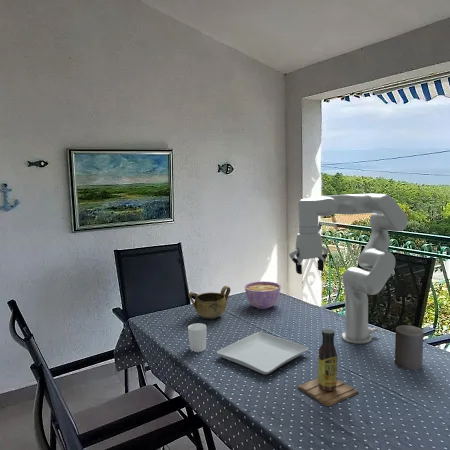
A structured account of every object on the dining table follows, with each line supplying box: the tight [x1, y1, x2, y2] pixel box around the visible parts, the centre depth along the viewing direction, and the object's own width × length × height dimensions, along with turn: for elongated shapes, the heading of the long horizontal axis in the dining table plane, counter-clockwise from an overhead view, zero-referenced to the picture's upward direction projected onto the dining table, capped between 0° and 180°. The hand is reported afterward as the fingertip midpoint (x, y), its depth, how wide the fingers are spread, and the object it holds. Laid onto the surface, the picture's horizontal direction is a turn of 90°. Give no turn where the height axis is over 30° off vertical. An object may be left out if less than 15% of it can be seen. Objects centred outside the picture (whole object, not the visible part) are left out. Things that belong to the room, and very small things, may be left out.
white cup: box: [187, 322, 207, 353], centre depth 178 cm, size 8×8×10 cm
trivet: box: [297, 377, 359, 407], centre depth 141 cm, size 14×14×1 cm
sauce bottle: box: [317, 328, 338, 391], centre depth 140 cm, size 6×6×20 cm
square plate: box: [216, 331, 309, 375], centre depth 168 cm, size 27×27×4 cm
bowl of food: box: [244, 281, 281, 310], centre depth 229 cm, size 20×20×12 cm
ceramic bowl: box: [188, 285, 231, 320], centre depth 216 cm, size 22×17×15 cm
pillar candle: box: [394, 324, 425, 371], centre depth 156 cm, size 10×10×15 cm
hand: (310, 272), depth 167 cm, fingers open, 9 cm apart
